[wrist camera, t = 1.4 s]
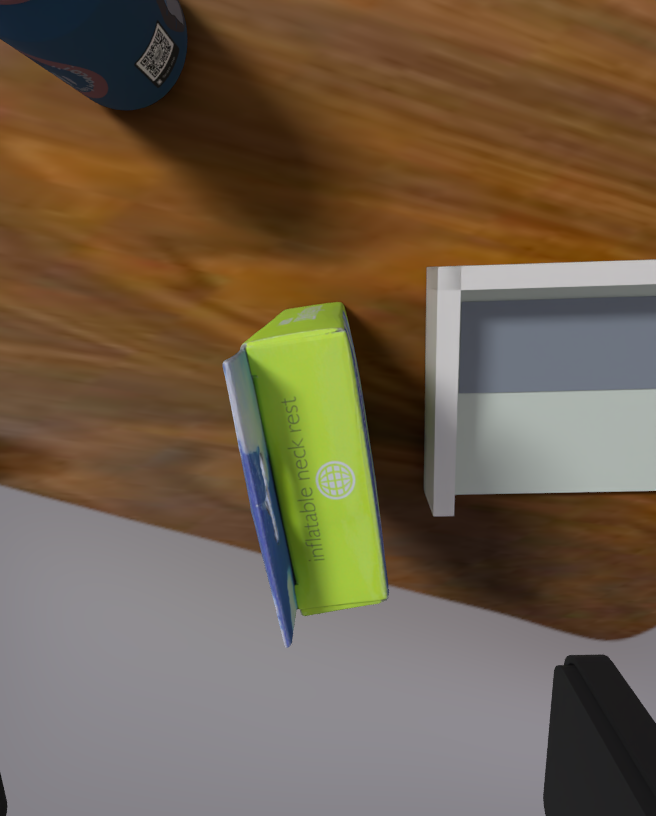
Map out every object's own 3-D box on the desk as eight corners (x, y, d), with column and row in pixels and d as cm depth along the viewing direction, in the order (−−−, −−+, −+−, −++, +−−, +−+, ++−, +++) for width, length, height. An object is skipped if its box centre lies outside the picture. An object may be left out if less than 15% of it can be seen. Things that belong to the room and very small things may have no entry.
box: (373, 460, 34) (403, 643, 18) (310, 470, 35) (281, 659, 18) (346, 295, 32) (350, 327, 15) (278, 307, 32) (209, 352, 15)
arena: (743, 256, 31) (797, 255, 27) (707, 484, 34) (751, 510, 31) (426, 267, 31) (437, 267, 28) (423, 490, 35) (433, 516, 31)
